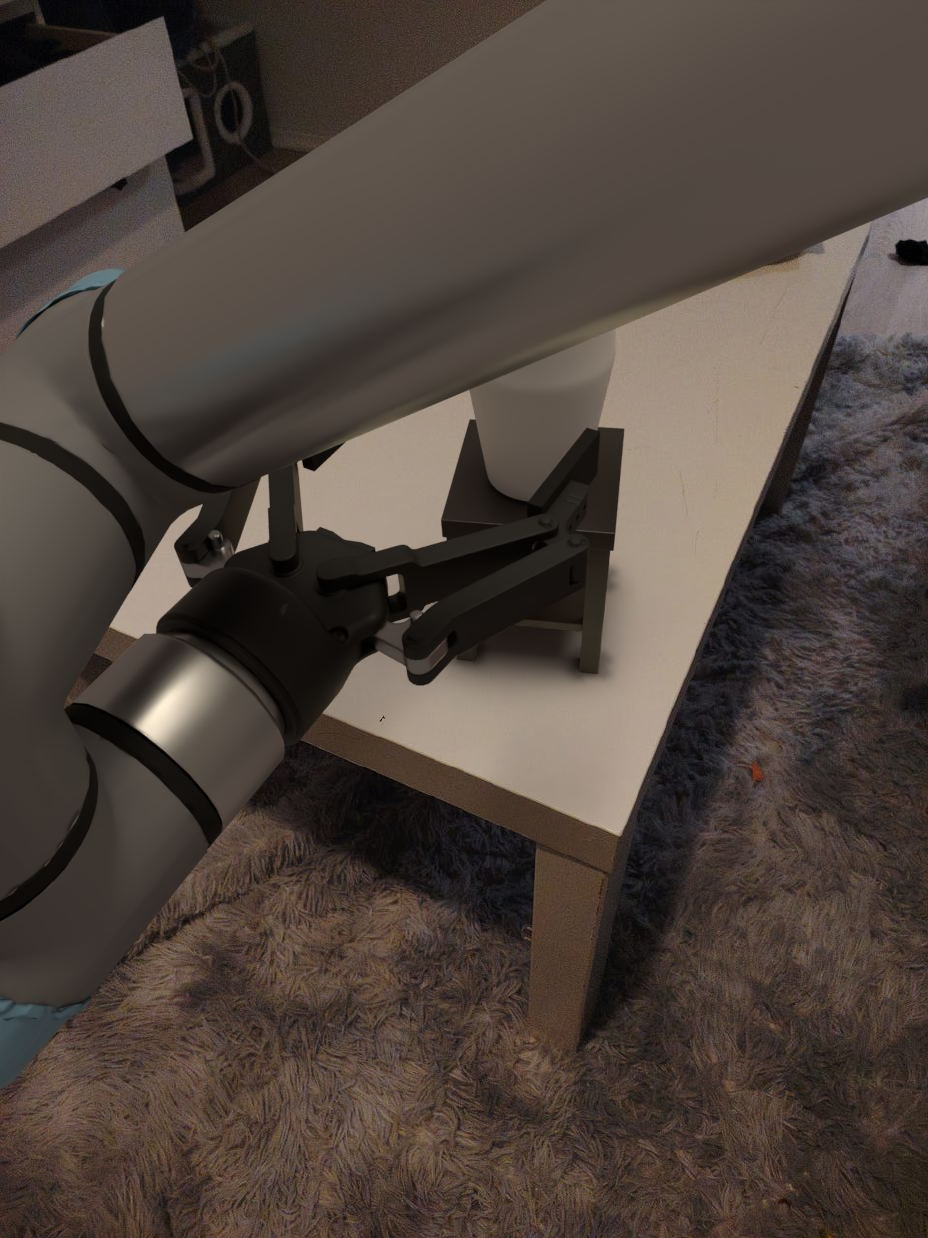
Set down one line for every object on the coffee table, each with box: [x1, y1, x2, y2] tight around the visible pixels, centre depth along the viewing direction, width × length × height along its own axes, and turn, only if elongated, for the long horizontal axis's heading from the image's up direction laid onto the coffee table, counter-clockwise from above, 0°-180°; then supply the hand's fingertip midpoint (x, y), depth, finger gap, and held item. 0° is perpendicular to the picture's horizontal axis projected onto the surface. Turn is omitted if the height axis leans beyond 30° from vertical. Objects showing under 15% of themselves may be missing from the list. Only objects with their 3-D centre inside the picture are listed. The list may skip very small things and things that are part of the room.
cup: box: [468, 328, 617, 501], centre depth 55 cm, size 9×9×12 cm
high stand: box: [440, 418, 625, 674], centre depth 64 cm, size 11×11×14 cm
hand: (477, 416), depth 48 cm, fingers open, 13 cm apart
